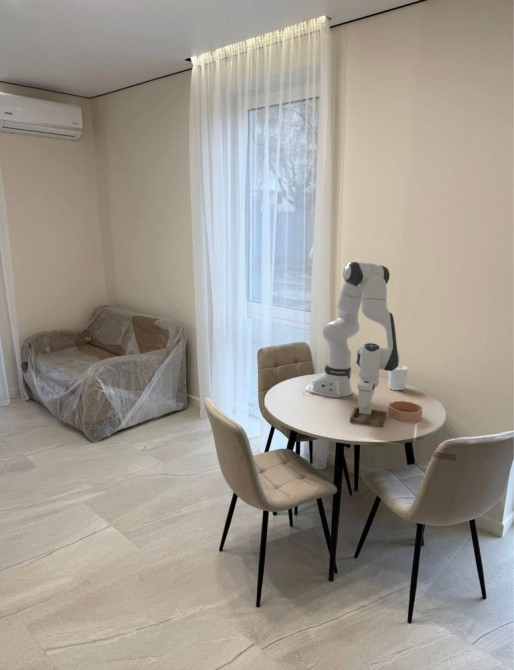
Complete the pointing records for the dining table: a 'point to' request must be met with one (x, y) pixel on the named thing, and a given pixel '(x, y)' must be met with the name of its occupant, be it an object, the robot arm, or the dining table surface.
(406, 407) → the terracotta bowl
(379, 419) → the walnut tray
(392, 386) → the candle holder
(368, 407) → the off-white cube block
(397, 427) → the dining table surface
